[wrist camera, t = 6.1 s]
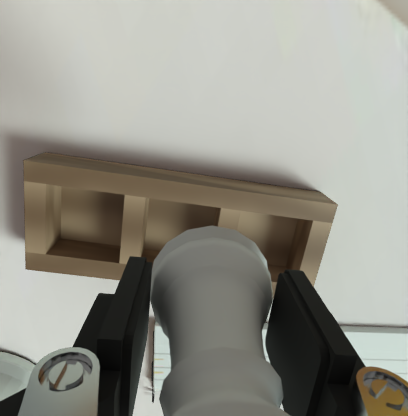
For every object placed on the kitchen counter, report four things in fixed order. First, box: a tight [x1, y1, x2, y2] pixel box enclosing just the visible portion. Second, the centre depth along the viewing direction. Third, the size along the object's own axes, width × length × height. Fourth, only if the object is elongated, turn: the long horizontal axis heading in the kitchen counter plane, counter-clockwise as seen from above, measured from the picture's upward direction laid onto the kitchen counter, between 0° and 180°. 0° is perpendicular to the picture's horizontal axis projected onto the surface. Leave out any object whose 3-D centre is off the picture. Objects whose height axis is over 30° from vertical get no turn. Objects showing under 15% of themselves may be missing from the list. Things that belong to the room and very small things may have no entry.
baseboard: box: [152, 322, 408, 403], centre depth 33 cm, size 30×3×10 cm
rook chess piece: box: [150, 226, 290, 416], centre depth 9 cm, size 4×4×8 cm
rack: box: [23, 152, 338, 298], centre depth 27 cm, size 9×23×4 cm, turn 81°
